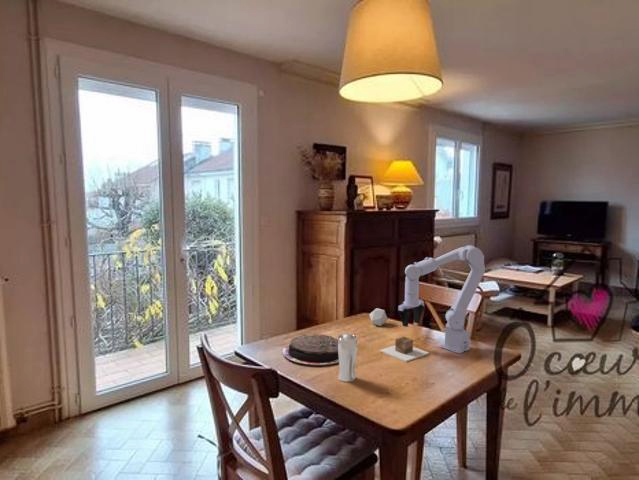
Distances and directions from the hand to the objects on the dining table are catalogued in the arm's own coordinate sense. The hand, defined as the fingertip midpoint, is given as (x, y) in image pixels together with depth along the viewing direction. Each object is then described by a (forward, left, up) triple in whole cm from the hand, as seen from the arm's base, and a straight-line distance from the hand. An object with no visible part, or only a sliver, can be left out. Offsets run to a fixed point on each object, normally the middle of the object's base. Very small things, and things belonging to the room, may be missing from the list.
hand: (410, 324), depth 179 cm
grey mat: (-4, +8, -9) cm, 13 cm away
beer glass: (-8, +43, -10) cm, 45 cm away
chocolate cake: (+17, +37, -10) cm, 42 cm away
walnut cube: (-4, +8, -9) cm, 13 cm away
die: (+29, -11, -10) cm, 33 cm away
